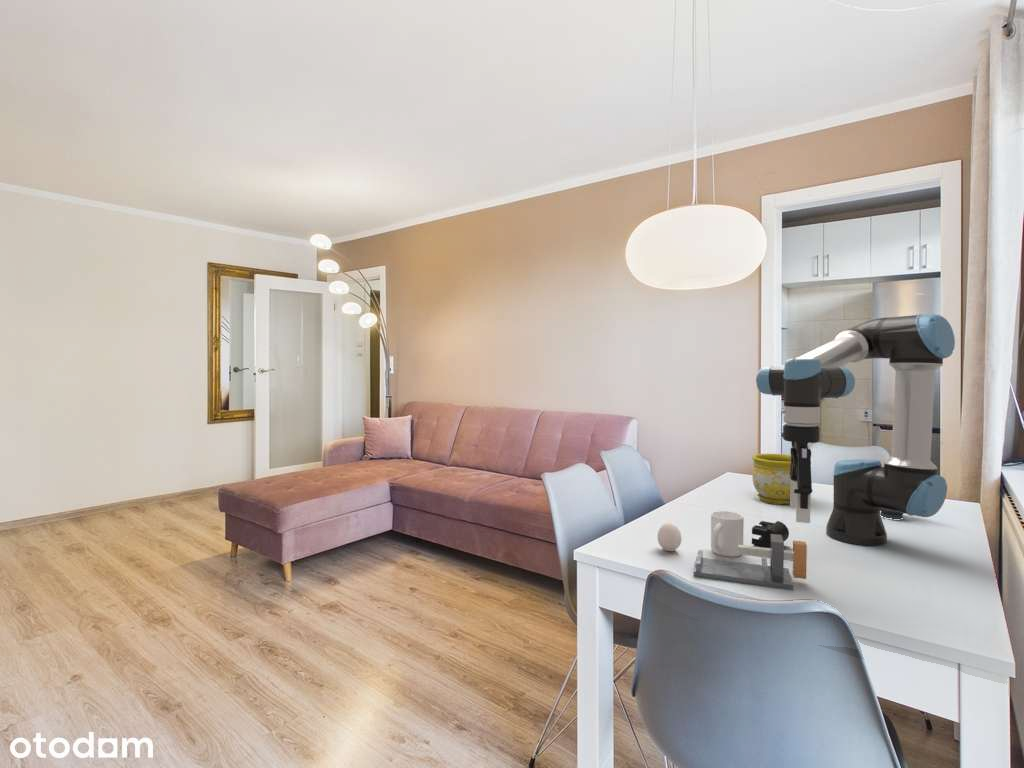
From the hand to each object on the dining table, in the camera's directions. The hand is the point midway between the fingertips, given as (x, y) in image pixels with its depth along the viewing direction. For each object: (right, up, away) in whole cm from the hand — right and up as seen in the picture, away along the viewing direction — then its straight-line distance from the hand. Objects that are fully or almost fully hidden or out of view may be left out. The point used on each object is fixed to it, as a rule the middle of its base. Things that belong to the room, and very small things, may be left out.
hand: (799, 514), depth 125 cm
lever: (-5, -15, +3) cm, 16 cm away
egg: (-24, -16, +23) cm, 36 cm away
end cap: (+5, -16, +25) cm, 30 cm away
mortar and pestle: (+60, -14, +53) cm, 81 cm away
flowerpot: (+33, -14, +76) cm, 84 cm away
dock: (-11, -16, +5) cm, 20 cm away
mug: (-10, -16, +20) cm, 27 cm away
